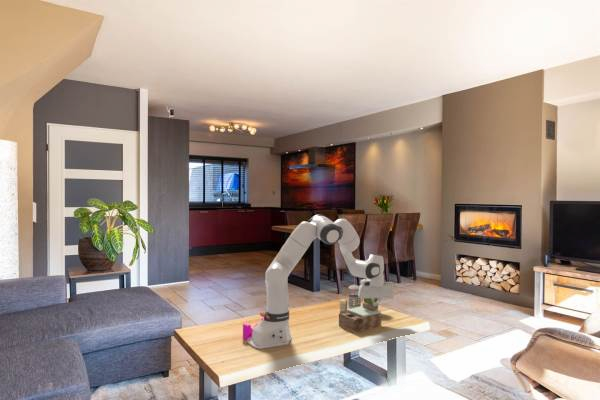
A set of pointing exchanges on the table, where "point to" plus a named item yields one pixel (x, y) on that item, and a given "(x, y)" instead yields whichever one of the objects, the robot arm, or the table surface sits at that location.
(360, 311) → the lid
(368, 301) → the plant pot
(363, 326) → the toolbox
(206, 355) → the table surface
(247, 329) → the toy block
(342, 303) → the wooden block
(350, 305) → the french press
